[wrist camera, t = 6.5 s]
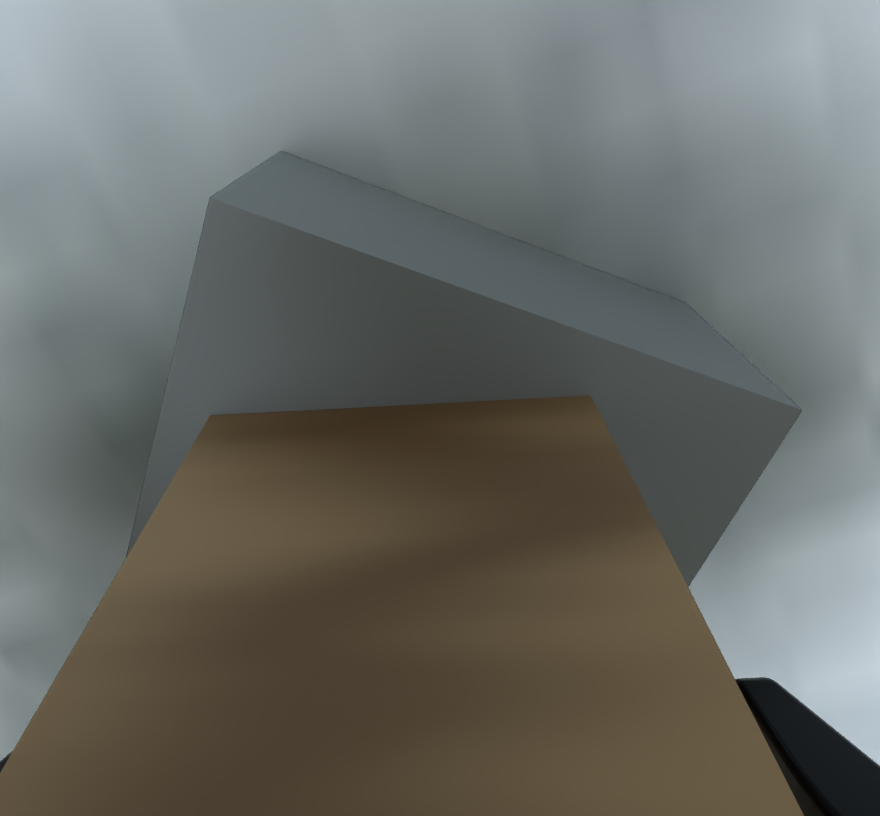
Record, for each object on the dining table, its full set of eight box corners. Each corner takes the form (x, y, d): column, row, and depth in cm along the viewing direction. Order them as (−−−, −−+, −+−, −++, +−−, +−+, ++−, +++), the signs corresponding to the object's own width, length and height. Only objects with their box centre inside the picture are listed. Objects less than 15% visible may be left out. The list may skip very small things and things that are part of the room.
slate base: (520, 602, 17) (555, 791, 13) (187, 508, 16) (96, 684, 12) (681, 298, 14) (801, 410, 10) (283, 149, 13) (209, 198, 8)
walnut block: (590, 395, 10) (812, 834, 4) (577, 676, 12) (713, 1207, 6) (210, 415, 10) (-65, 884, 4) (267, 693, 12) (136, 1238, 6)
